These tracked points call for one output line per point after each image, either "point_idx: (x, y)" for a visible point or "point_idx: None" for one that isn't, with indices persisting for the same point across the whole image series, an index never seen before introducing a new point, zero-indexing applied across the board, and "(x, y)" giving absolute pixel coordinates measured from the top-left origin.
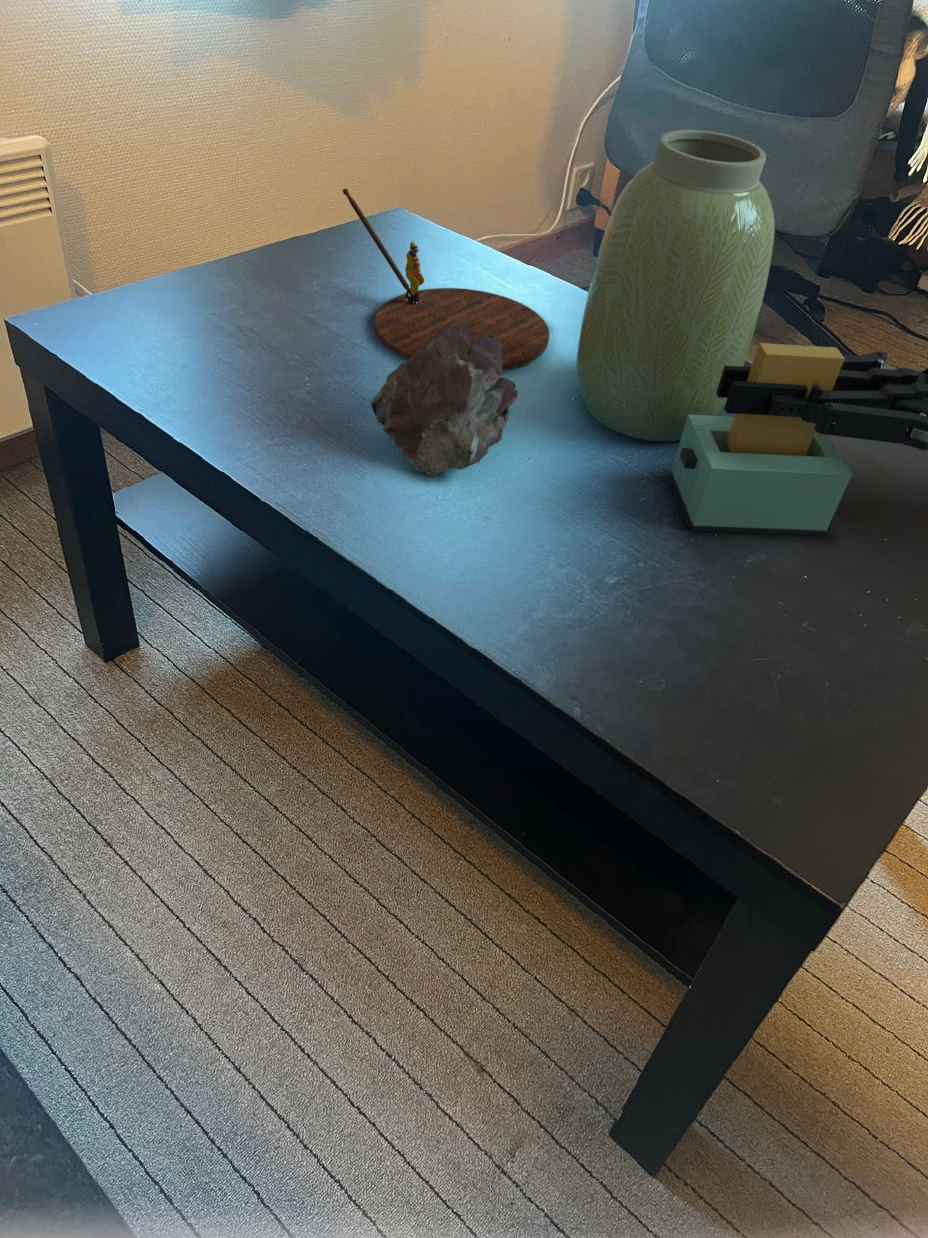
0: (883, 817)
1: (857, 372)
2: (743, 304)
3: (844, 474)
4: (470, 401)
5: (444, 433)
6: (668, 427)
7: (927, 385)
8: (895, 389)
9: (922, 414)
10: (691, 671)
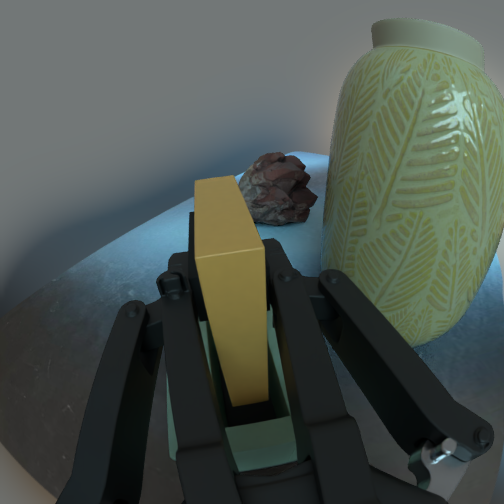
0: None
1: (334, 392)
2: (393, 183)
3: (169, 446)
4: (240, 183)
5: None
6: None
7: None
8: (206, 479)
9: None
10: (53, 324)
